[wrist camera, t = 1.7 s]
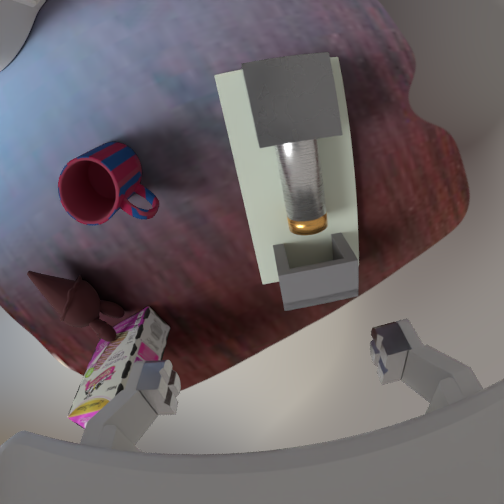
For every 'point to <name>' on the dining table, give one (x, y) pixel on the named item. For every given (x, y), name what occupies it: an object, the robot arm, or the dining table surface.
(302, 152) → the tube
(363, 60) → the dining table surface
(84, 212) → the mug
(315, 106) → the dark grey cube cap
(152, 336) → the candy bar box
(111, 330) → the icecream
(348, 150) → the board
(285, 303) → the socket
